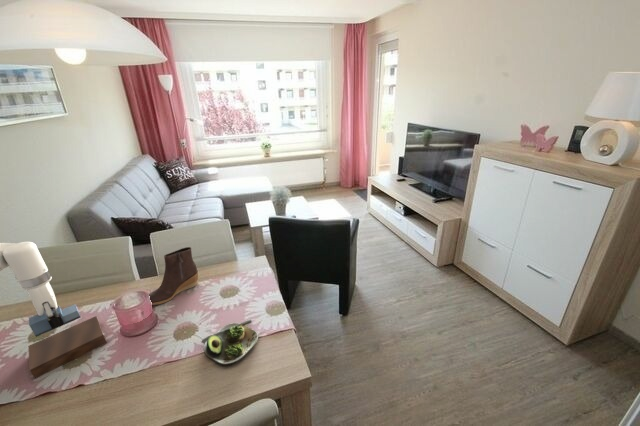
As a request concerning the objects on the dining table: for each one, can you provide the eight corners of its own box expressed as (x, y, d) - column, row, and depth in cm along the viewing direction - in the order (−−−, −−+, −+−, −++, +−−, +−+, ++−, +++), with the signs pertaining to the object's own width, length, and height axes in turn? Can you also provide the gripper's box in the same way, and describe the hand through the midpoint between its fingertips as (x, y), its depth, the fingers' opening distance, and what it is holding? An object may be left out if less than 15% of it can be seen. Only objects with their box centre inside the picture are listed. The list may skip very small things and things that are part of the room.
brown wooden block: (34, 378, 95) (29, 370, 93) (33, 354, 104) (28, 345, 103) (107, 342, 107) (103, 334, 106) (99, 323, 117) (96, 315, 115)
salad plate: (237, 315, 117) (235, 306, 115) (270, 333, 108) (269, 323, 106) (195, 350, 102) (192, 340, 101) (229, 373, 93) (227, 363, 91)
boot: (142, 302, 128) (128, 263, 120) (196, 277, 143) (187, 241, 135) (148, 311, 122) (134, 271, 114) (204, 285, 137) (195, 248, 129)
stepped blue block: (35, 337, 96) (29, 325, 94) (35, 329, 99) (28, 317, 97) (80, 317, 103) (75, 306, 101) (78, 310, 107) (73, 299, 105)
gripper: (19, 273, 97) (42, 316, 104) (19, 296, 86) (45, 342, 93) (48, 264, 102) (68, 305, 109) (52, 284, 91) (74, 328, 98)
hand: (57, 321), depth 101 cm, fingers closed on stepped blue block, 5 cm apart
